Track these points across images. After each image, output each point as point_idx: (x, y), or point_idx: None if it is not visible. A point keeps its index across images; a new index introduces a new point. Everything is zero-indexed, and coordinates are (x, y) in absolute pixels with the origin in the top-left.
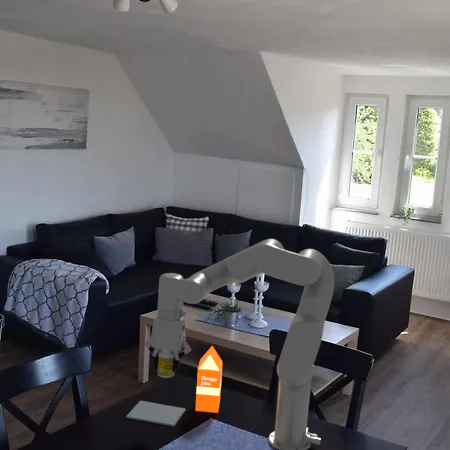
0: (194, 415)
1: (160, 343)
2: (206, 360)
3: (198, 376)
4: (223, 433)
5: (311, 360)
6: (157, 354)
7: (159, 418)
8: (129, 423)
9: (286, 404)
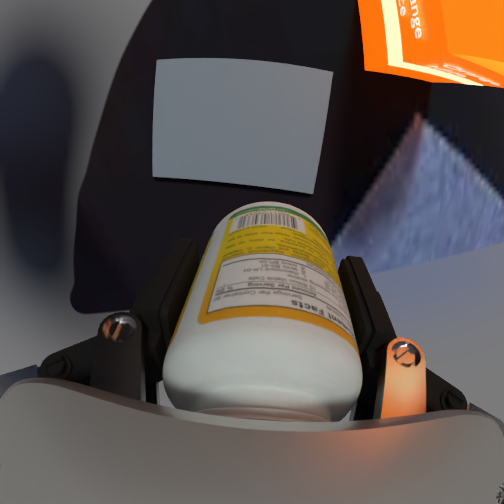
0: (367, 104)
1: None
2: None
3: (432, 59)
4: (442, 206)
5: None
6: (160, 379)
7: (256, 162)
8: (175, 202)
9: None
